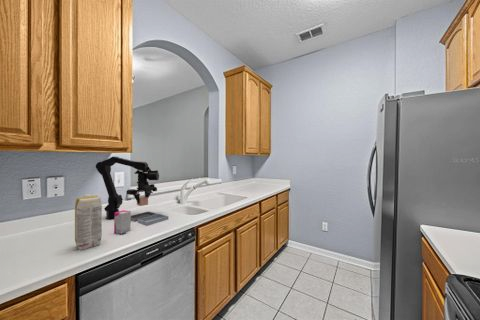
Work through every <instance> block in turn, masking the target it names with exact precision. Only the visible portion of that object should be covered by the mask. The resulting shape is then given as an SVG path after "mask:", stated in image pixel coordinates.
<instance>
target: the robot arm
mask: <svg viewBox="0 0 480 320" xmlns="http://www.w3.org/2000/svg"><path fill="white" fill-rule="evenodd" d="M115 164H119V165H124V166H127V167H132V168H134V169H136V171H135V172H133V173H134V175H137V181H136V184H137V187H136V189H134V188H132V189H127V190H126V195H129V196H133V197H134V199H135V201H136V204H137V203H138V204H139V202H140V200H139V197H141V193H142V192H143V193H144V197H148V199H149V197H150V195H151V194H153V193H154V192H158V188H157V186H156V185H155V184H154V183H151V184H149V181H159V180H160V174H159V173H160V172H159V170H157V169H156V170H152V169H151V168H150V166H149V164H148V162H146V161H137V160H136V161H135V160H132V159H131V160H130V159H126V158H123V157H119V156H111V157H109V158H107V159H104V160H102V161H98V162H97V163H96V164H95V168H96V171H97V172H98V173H99V174H100V175H101V177H102V180H103V182H104V183H103V184H104V186H105V189H106V192H107V195H108V197H107V205H106V206H105V207H104V208H103V209H104V212H105V213H106V214H105V216H106V217H105V218H104V219H106V220H108V221H112V220H114V213H115V212H119V211H120V210H119V208H120V207H121V205H122V204H123V201H124V198H122V197H123V196H122V194H118V192H117V190H116V185H115V184H114V180H113V177H112V175H111V171H112V166H114V165H115Z"/></svg>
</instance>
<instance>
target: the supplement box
mask: <svg viewBox="0 0 480 320" xmlns="http://www.w3.org/2000/svg"><path fill="white" fill-rule="evenodd" d="M131 215H132V213H131V210H119V212H115V213H114V219H113V224H114V225H113V233H114V234H117V235H120V236H121V235H124V234H126V233H128V232H130V231H131V222H132V221H131Z"/></svg>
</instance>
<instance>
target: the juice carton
mask: <svg viewBox="0 0 480 320" xmlns="http://www.w3.org/2000/svg"><path fill="white" fill-rule="evenodd" d="M102 206H103V204H102V200H101V197H100V196H98V195H92V194H91V193H89V194H84V197H76V198H75V203H74V242H75V244H76V247H77V248H78V250H80V251H81V250H86V249H89V248H92V247H96V246H99V245H100V244H101V241H102V231H103V230H102V223H103V220H102V218H103V216H102V215H103V214H102V212H103V211H102V209H103V207H102Z"/></svg>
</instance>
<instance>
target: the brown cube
mask: <svg viewBox="0 0 480 320" xmlns="http://www.w3.org/2000/svg"><path fill="white" fill-rule="evenodd" d="M139 200H140V202H139V204H138V203H137V202H136V205H137V206H139V207H143V206H148V205H149V198H148V197H145V196H139Z"/></svg>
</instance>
